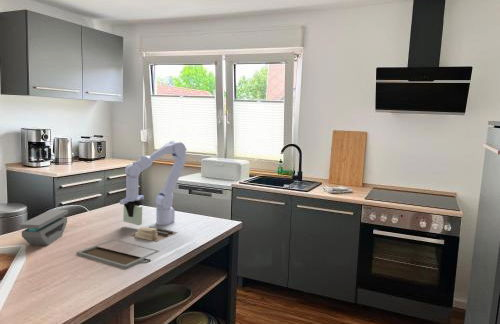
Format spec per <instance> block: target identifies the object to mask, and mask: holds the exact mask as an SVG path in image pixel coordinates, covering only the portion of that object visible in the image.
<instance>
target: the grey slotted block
mask: <svg viewBox="0 0 500 324" xmlns="http://www.w3.org/2000/svg"><path fill="white" fill-rule="evenodd" d="M68 214H69V210H68V209H54V208H53V209H49V210H48V211H45V212H43V213H41V214H39V215H37V216H35V217H32V218H30V219H28V220H26V221H24V222H22V223H20V224H19V229H24V230H21V237H22V238H23V239H24V240H25V241H26V242H27V243H28V244H29V245H32V246H33V245H35V246H36V245H37V246H49V245H51V244H52V243H55V242H56V241H57V240H60V238H62V237H63V234H64V232H65V228H66V226H67V223H68V217H65V215H68Z"/></svg>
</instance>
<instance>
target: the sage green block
mask: <svg viewBox="0 0 500 324" xmlns="http://www.w3.org/2000/svg"><path fill="white" fill-rule="evenodd" d="M122 221H123V222H124V223H128V224H133V225H136V226H140V225H142V224H143V206H142V205H140V206H137V205H134V209H133V217H129V216H128V212H127V209H126V207H125V206H124V205H123V218H122Z"/></svg>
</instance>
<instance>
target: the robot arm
mask: <svg viewBox="0 0 500 324" xmlns="http://www.w3.org/2000/svg"><path fill="white" fill-rule="evenodd" d="M186 152H187V148H186V146H185V144H184V142H182V141H181V142H180V141H174V140H171V141H169V142H167V143H165V144H164V145H162V146H161V147H159V149H157V150H155V151H154V152H152V153H151V154H149V155H144V156H143V155H142V156H140V158H138V160H136V161H132V163H131V164H127V165H126V166H125V168H124V174H125V176H126V179H125V182H126V183H125V185H126V186H125V187H126V189H125V190H126V192H125V193H126V194H125V196H126V197H125V198H123V199H120V200H119V205H123V207H124V206H125V207H126V209H127V212H128V216H129V217H133V209H134V205H137V206H141V204H142V201H141V200H145V195H143V194H140V195H139V176H140V174H141V172H143V171H146V169H148V168H150V167H151V166H153V162H154V161H156V160H158V159H160V158H161V157H163V156H165V155H167V154H168V155H169V154H170V155H171V156H172V157H173V159H174V162H173V164H172V167H171V169H170V172H169V173H168V176H167V178H166V181H165V183H164V186H163V188H162V189H160V190H159V193H158V194H157V195H156V196H155V198H154V202H155V205H156V207H155V208H156V211H155V212H156V213H155V214H156V215H155V217H156V223H155V224H156V225H159V226H166V225H170V224H172V223H175V220H176V219H175V216H176V215H175V213H176V212H175V209H174V207H173V203H174V202H173V200H174V191H175V188H176V186H177V183H178V180H179V178H180V176H181V174H182V172H183V169H184V167H185V165H186V163H187V153H186Z"/></svg>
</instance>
